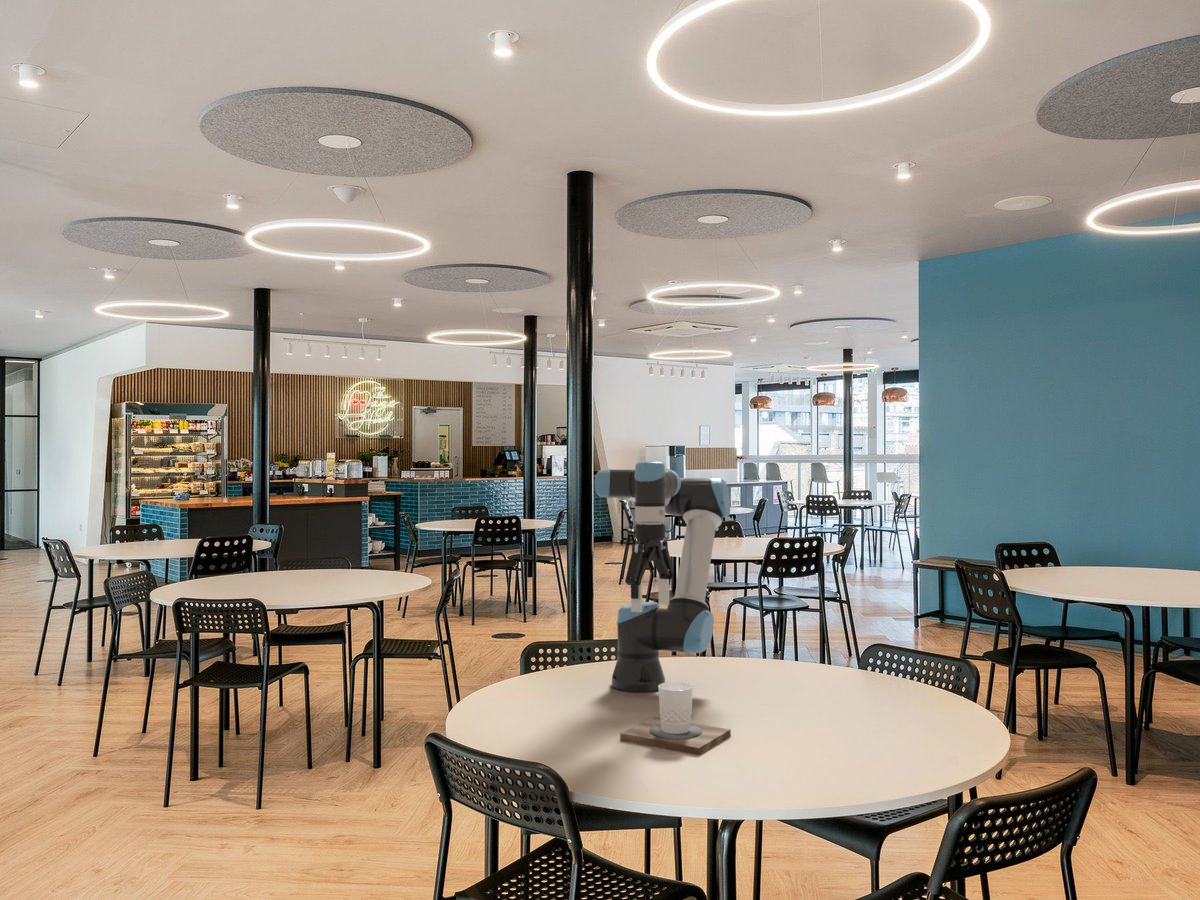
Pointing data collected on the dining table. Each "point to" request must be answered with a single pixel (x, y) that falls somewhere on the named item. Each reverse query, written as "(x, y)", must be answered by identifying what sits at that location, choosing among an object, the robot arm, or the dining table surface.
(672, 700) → the white cup
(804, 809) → the dining table surface
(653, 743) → the board
